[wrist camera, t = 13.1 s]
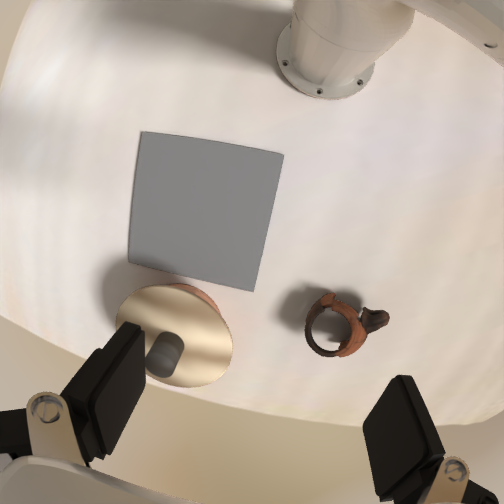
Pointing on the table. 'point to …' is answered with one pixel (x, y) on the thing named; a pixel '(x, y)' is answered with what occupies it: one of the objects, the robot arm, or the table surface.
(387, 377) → the table surface
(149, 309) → the lid
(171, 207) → the mat
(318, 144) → the table surface
